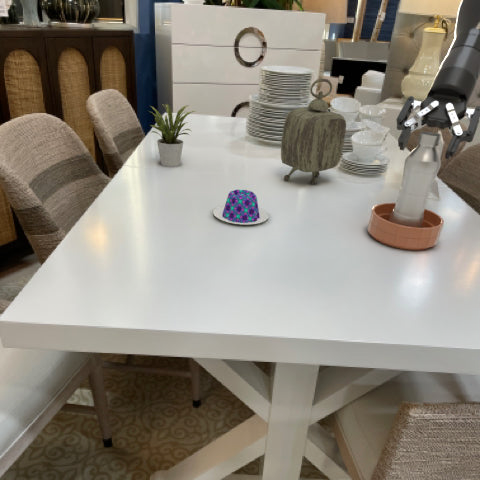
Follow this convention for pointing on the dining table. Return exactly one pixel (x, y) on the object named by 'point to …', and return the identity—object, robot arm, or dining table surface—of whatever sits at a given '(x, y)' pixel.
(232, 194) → the pudding
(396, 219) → the plastic bottle
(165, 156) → the house plant
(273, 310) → the dining table surface
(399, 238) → the pan
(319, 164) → the tabletop clock
